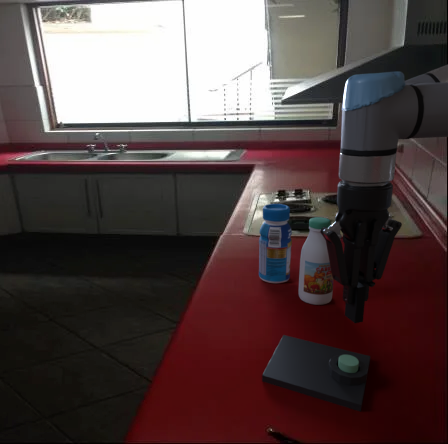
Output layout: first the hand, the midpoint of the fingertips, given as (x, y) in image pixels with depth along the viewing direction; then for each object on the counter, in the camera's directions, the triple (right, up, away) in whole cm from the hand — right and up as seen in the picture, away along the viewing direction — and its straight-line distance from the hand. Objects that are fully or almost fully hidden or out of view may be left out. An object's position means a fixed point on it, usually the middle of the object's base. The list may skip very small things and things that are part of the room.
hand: (353, 318), depth 70 cm
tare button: (0, -9, +3) cm, 9 cm away
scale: (-4, -11, +6) cm, 13 cm away
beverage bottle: (-1, +1, +43) cm, 43 cm away
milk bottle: (+5, -2, +31) cm, 32 cm away
